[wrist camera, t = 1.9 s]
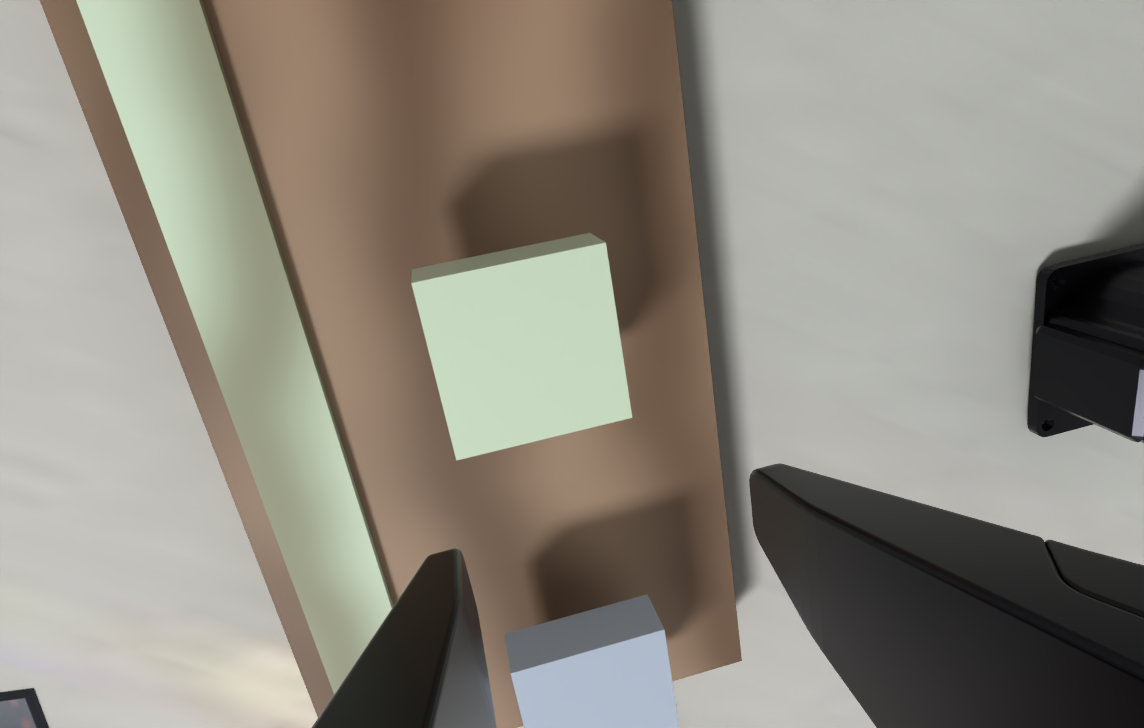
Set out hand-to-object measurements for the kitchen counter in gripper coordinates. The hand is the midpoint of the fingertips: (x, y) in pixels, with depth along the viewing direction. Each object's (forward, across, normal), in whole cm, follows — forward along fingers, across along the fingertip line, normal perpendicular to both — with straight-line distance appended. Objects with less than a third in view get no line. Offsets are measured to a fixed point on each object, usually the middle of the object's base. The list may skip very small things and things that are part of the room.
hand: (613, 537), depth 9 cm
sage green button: (+9, 0, 0) cm, 9 cm away
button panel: (+13, +2, 0) cm, 13 cm away
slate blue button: (+9, 0, +11) cm, 14 cm away
